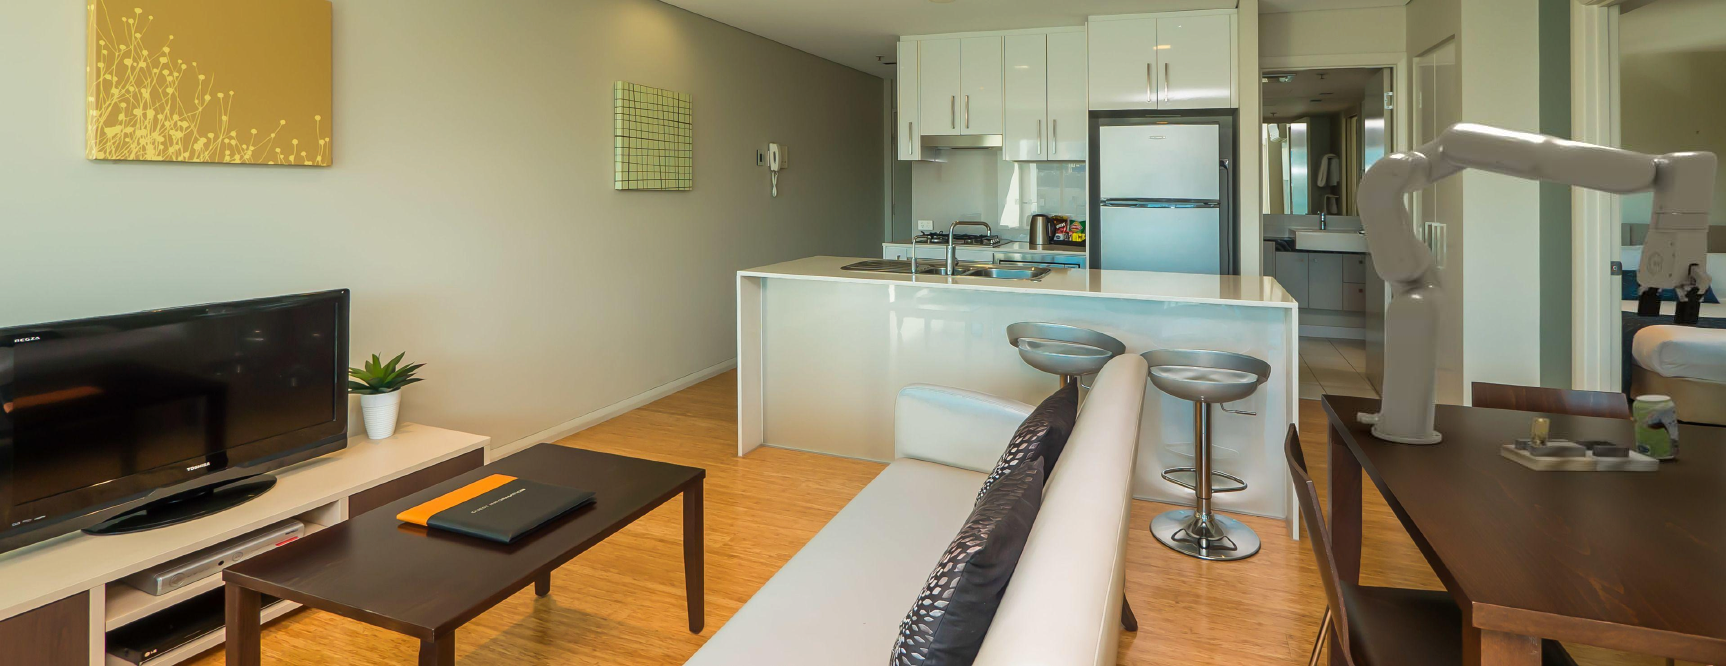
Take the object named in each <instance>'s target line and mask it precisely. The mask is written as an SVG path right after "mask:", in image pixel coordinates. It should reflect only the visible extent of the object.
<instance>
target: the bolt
mask: <svg viewBox="0 0 1726 666" xmlns="http://www.w3.org/2000/svg"><path fill="white" fill-rule="evenodd" d="M1531 428H1532V429H1531V438H1530V439H1531V442H1526V451H1529V452H1530V447H1531V445H1542V446H1580V445H1577V444H1576V442H1575V443H1574V442H1572V441H1570V442H1547V440H1548V439H1549V429H1550V419H1549V418H1546V417H1545V418H1544V417H1533V419H1532V427H1531Z"/></svg>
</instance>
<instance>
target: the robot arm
mask: <svg viewBox="0 0 1726 666" xmlns="http://www.w3.org/2000/svg"><path fill="white" fill-rule="evenodd" d="M1468 168H1469V169H1473V170H1479V171H1484V172H1489V173H1494V174H1500V175H1505V176H1509V177H1515V178H1519V179H1525V180H1529V181H1535V182H1536V181H1539V182H1551V183H1557V184H1563V185H1569V186H1574V187H1577V188H1583V189H1587V190H1588V189H1589V190H1592V191H1593V190H1594V191H1598V192H1602V193H1609V194H1613V195H1619V196H1630V195H1637V194H1645V193H1648V194H1649V193H1653V198H1652V205H1651V213H1650V219H1649V220H1650V221H1649V229H1648V232H1647V234H1646V236H1645V239H1644V242H1643V245H1642V249H1641V253H1640V257H1639V263H1638V268H1637V269H1636V271H1635V273H1636V284H1637V286H1638V289H1637V293H1638V295H1639V297H1638V305H1637V312H1636V315H1637V316H1638V317H1640V318H1641V317H1643V318H1646V317H1647V318H1658V317H1659V316H1660V312H1661V307H1662V306H1661V305H1662V304H1661V303H1662V297H1663V295H1662V294H1660V293H1661V292H1662V290H1663V289H1664V290H1672V289H1675V291H1676V294H1677V295H1678V298H1679V300H1676V303H1675V310H1674V317H1673V323H1674V324H1675V325H1695V326H1696V325H1697V324H1698V323H1699V316H1700V310H1701V302H1704V296H1705V295H1706V294H1707V293H1708V288H1709V287H1710V286H1711V284H1712V281H1713V278H1712V277H1711V276H1710V275H1709V274H1708V273H1707V261H1708V257H1707V256H1708V236H1707V233H1708V232H1709V225H1710V219H1711V217H1710V216H1711V212H1712V211H1711V210H1712V205H1713V197H1714V189H1715V181H1716V174H1717V170H1718V169H1717V168H1718V157H1717V155H1716V154H1715V153H1714V152H1713V151H1702V150H1701V151H1699V150H1698V151H1695V150H1693V151H1679V152H1678V151H1677V152H1675V151H1673V152H1668V153H1665V154H1649V153H1642V152H1638V151H1634V150H1628V149H1620V148H1617V147H1609V146H1602V145H1599V144H1592V143H1588V142H1587V143H1586V142H1580V141H1573V140H1568V139H1565V138H1561V137H1557V136H1555V135H1552V134H1551V135H1550V134H1545V133H1540V132H1533V131H1528V130H1521V129H1515V128H1510V127H1503V126H1497V125H1492V124H1486V123H1485V124H1484V123H1480V122H1479V123H1478V122H1474V121H1459V122H1456V123H1453V124H1451V125H1449V126H1447V127H1446V128H1445V129H1444V130H1443V131H1442V132H1441V134H1440V135H1439V137H1436V138H1435V139H1433V140H1432V141H1429V142H1427V143H1425V144H1423V145H1420V146H1418V147H1416V148H1414V149H1412V150H1410V151H1404V150H1402V151H1399V150H1398V151H1394V152H1390V153H1387V154H1386V155H1383V156H1382V157H1381V158H1379V159H1378V160H1376V161H1375V162H1374V163H1372V164H1371V166H1370V167H1369V168H1368V169H1367V170H1366V171H1365V173H1364V174H1363V176H1362V178H1361V179H1360V182H1359V184H1358V188H1357V193H1356V204H1357V206H1356V207H1357V210H1358V215H1359V219H1360V220H1361V224H1362V228H1363V231H1364V234H1365V240H1366V242H1367V245H1368V248H1369V252H1370V255H1371V259H1372V262H1373V265H1374V269H1375V272H1376V274H1377V275H1378V276H1379V278H1380V279H1381V280H1383V281H1385V282H1386V283H1388V284H1389V286H1390V291H1391V293H1392V297H1393V298H1391V300H1390V301H1389V303H1388V305H1387V308H1386V311H1385V315H1384V318H1385V319H1384V321H1385V323H1384V325H1385V327H1384V328H1385V329H1384V331H1385V332H1384V333H1385V343H1384V344H1385V346H1384V347H1385V348H1384V350H1385V351H1384V362H1383V363H1384V367H1383V368H1384V369H1383V383H1382V398H1381V409H1380V411H1379V413H1377V412H1375V413H1374V414H1371V413H1365V412H1357V415H1356V420H1357V422H1361V424H1366V425H1368V424H1371V425H1373V426H1372V427H1371V434H1372V435H1373V436H1374V437H1376V438H1379V439H1382V440H1386V441H1389V442H1394V443H1395V442H1396V443H1401V444H1411V445H1433V444H1437V443H1439V442H1441V441H1442V437H1443V435H1442V434H1441V433H1440V432H1438V431H1436V430H1434V426H1435V424H1434V423H1435V411H1436V398H1437V388H1438V377H1439V376H1438V373H1439V359H1440V337H1441V335H1440V334H1441V333H1440V331H1441V324H1442V323H1443V322H1444V321H1445V319H1446V318H1447V316H1448V315H1449V311H1450V304H1449V303H1450V302H1449V298H1448V295H1447V291H1446V288H1445V286H1444V282H1443V280H1442V276H1441V273H1440V271H1439V268H1438V264H1437V262H1436V258H1435V256H1434V253H1433V252H1432V250H1431V248H1430V247H1429V246H1428V245H1427V244H1426V243H1425V242H1424V241H1422V240H1420V239H1418V238H1417V236H1416V234H1415V230H1414V228H1413V225H1412V221H1411V216H1410V215H1409V212H1408V209H1407V207H1406V204H1405V195H1406V194H1411V193H1415V192H1418V191H1421V190H1423V189H1425V188H1428V187H1430V186H1432V185H1434V184H1436V183H1438V182H1440V181H1444V180H1445V179H1448V178H1449V177H1452V176H1454V175H1457V174H1458V173H1461V172H1463V171H1465V170H1467V169H1468Z"/></svg>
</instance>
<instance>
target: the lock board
mask: <svg viewBox="0 0 1726 666" xmlns="http://www.w3.org/2000/svg"><path fill="white" fill-rule="evenodd" d="M1526 442H1531V438H1530V439H1527V438H1525V439H1524V438H1523V439H1522V438H1517V439H1515V440H1514V444H1511V445H1510V444H1501V447H1500V456H1501V457H1505V459H1508V460H1511V461H1513V462H1516V463H1518V464H1520V465H1522V466H1525V467H1526V468H1529V469H1531V470H1533V471H1537V472H1539V471H1544V472H1545V471H1550V472H1551V471H1553V472H1554V471H1555V472H1556V471H1558V472H1561V471H1569V472H1571V471H1573V472H1581V471H1583V472H1658V471H1659V468H1660V467H1659V466H1660V459H1653V458H1650V457H1648V456H1645V455H1642V454H1639V453H1637V451H1633V450H1631V449H1630V448H1631V447H1629V446H1627V445H1624V444H1622V443H1618V442H1616V441H1615V442H1614V441H1613V440H1609V439H1597V438H1596V439H1589V438H1588V439H1575V444H1577V445H1580V446H1542V445H1531V447H1530V452H1529V451H1526ZM1547 442H1571V441H1570V440H1567V439H1566V438H1564V439H1563V438H1562V439H1556V438H1555V439H1554V438H1553V439H1552V438H1551V439H1549V438H1548V440H1547Z"/></svg>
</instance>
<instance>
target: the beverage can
mask: <svg viewBox="0 0 1726 666" xmlns="http://www.w3.org/2000/svg"><path fill="white" fill-rule="evenodd" d="M1632 414H1633V423H1634V425H1633V426H1634V436H1635V437H1634V438H1635V446H1636V447H1635V448H1636V449H1635V450H1636V453H1639V454H1642V455H1645V456H1648V457H1650V458H1653V459H1656V460H1666V459H1668V460H1669V459H1673V458H1674V457H1675V456H1677V455H1679V454H1680V442H1679V431H1678V419H1677V406H1676V403H1675V402H1674V401H1673V400H1672V398H1671V397H1670V396H1669V395H1663V394H1644V395H1639V396H1637V397H1636V398H1635V400H1634V401H1633V403H1632Z"/></svg>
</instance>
